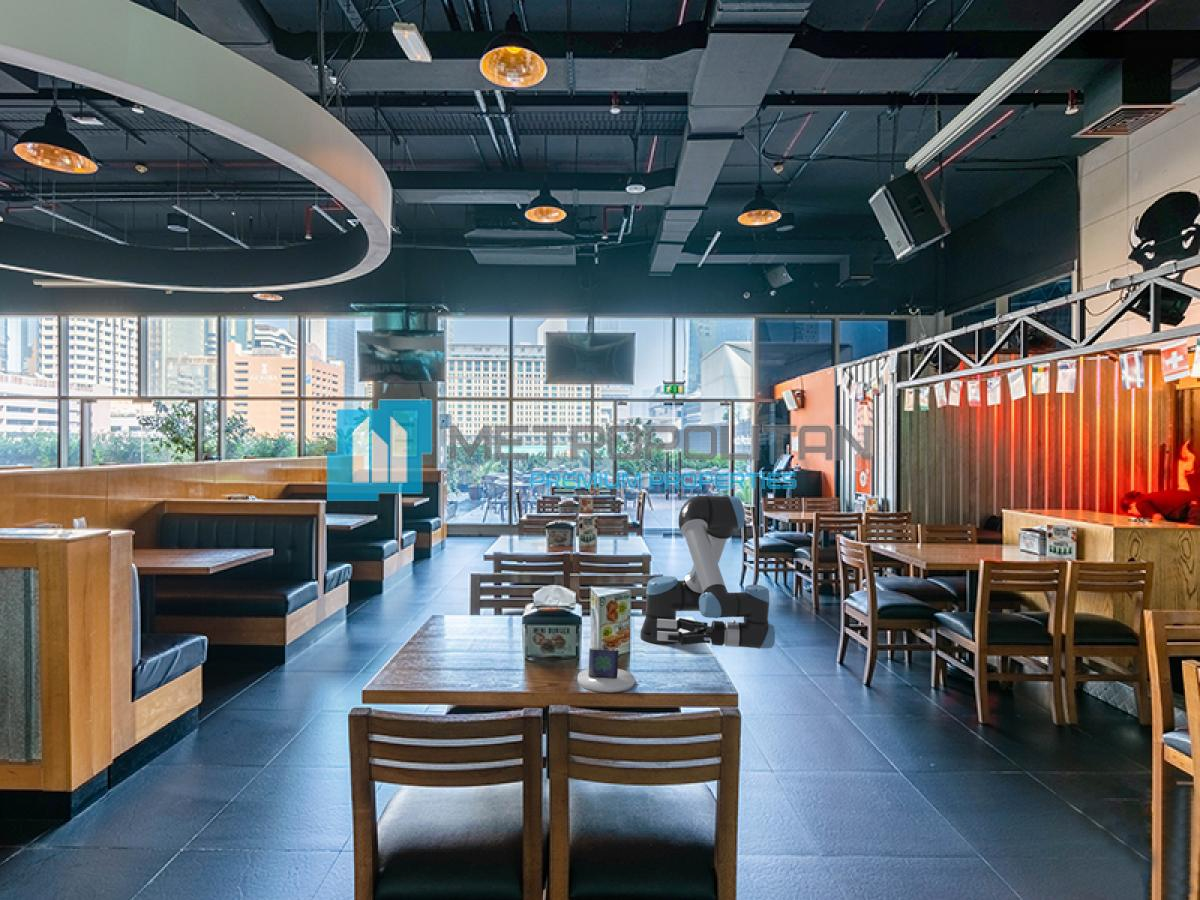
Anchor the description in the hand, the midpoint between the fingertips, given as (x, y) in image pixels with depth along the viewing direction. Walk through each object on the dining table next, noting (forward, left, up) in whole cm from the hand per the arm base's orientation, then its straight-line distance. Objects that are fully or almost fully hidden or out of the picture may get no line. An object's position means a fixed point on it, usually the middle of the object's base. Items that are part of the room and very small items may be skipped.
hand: (656, 629), depth 221 cm
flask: (+4, -17, -15) cm, 23 cm away
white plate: (+4, -16, -17) cm, 23 cm away
